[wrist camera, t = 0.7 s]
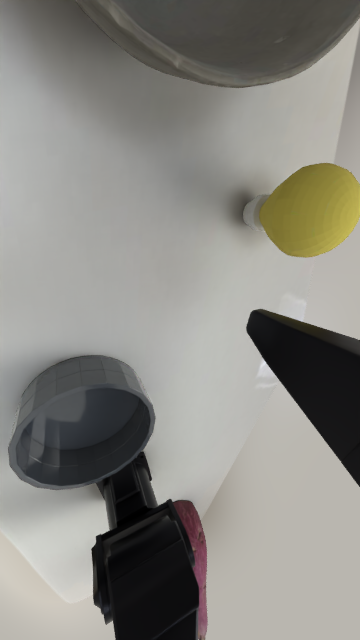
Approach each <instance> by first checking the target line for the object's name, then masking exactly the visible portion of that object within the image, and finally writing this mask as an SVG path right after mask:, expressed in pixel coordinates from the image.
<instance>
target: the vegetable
mask: <svg viewBox="0 0 360 640" xmlns="http://www.w3.org/2000/svg"><path fill="white" fill-rule="evenodd" d="M173 504H174V506H175V508H176V510H177V512H178V515H179V517H180V519H181V521H182V523H183V525H184V527H185V529H186V531H187V534H188V536H189V539H190V542H191V545H192V549H193V553H194V557H195V567H193V570H194V573H195V576H196V579H197V582H198V586H199V612H198V639H199V640H205V635H206V632H207V606H206V572H207V549H206V540H205V535H204V532H203V528H202V524H201V521H200V518H199V515H198V513H197V511H196V509H195V507H194V505H193V504H192V502H190V501H177V502H174V503H173Z"/></svg>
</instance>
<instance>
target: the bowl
mask: <svg viewBox="0 0 360 640" xmlns="http://www.w3.org/2000/svg"><path fill="white" fill-rule="evenodd" d="M75 1H76V2H77V4H78V5H79V6H80V7H81V9H82V10H83V11H84V12H85V13H86V14H87V15H88V16H89V17H90V18H91V20H92V21H93V22H94V23H95V24H96V25H97V26H98V27H99V28H101V29H102V30H103V31H104V32H105V33H106V34H107V35H108V36H109V37H110V38H111V39H112V40H113V41H114V42H115V43H116V44H118V45H119V46H120V47H121V48H122V49H124V50H125V51H126V52H127V53H129V54H130V55H132V56H133V57H134V58H136V59H137V60H139V61H141V62H142V63H144V64H146V65H148V66H150V67H152V68H154V69H156V70H159V71H161V72H164V73H166V74H170V75H173V76H177V77H180V78H184V79H188V80H192V81H195V82H199V83H202V84H208V85H214V86H220V87H231V88H243V87H251V86H258V85H264V84H269V83H273V82H276V81H280V80H283V79H286V78H290V77H292V76H294V75H296V74H298V73H300V72H302V71H304V70H306V69H308V68H309V67H311V66H312V65H313V64H315V63H316V62H317V61H318V60H320V59H321V58H322V57H323V56H324V55H326V54H327V53H328V52H329V51H330V50H331V49H333V48H334V47H335V46H336V45H337V44H338V43H339V42H340V40H341V39H342V38H343V37H344V36H345V35H346V34H347V33H348V31H349V30H350V29H351V28H352V27H353V25H354V24H355V23H356V22H357V20H358V19H359V17H360V0H75Z"/></svg>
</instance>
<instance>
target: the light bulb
mask: <svg viewBox="0 0 360 640" xmlns="http://www.w3.org/2000/svg"><path fill="white" fill-rule="evenodd" d="M359 217H360V184H359V183H358V181H357V180H356V178H355V177H354V176H353V174H352V173H351V172H349V171H348V170H347V169H344V168H342V167H340V166H337V165H334V164H330V163H320V164H314V165H309V166H305V167H302V168H301V169H299V170H298V171H296V172H295V173H294V174H292V175H291V176H290V177H289V178H287V179H286V180H285V181H284V182H283V183H282V184H280V185H279V186H278V187H277V188H276V189H275V190H274V191H273V193H272V194H271V195H270V194H267V195H259V196H257V197H256V198H254V199H253V201H250V202H249V203H247V205H246V206H245V208H244V212H243V219H244V221H245V223H246V224H247V225H250V227H251V228H252V229H253V230H257V231H265V232H266V234H267V235H268V237H269V238H270V239H271V241H272V242H273V243H274V244H275V245H276V246H277V247H278V248H279V249H280V250H281V251H282V252H284V253H285V254H287V255H290V256H296V257H313V256H317V255H320V254H323V253H325V252H328V251H330V250H332V249H333V248H335V247H336V246H338V245H339V244H340V243H342V242H343V241H344V240H345V239H346V238H347V237H348V236H349V234H350V233H351V232H352V231H353V229H354V227H355V226H356V224H357V222H358V220H359Z"/></svg>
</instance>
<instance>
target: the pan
mask: <svg viewBox="0 0 360 640" xmlns="http://www.w3.org/2000/svg"><path fill="white" fill-rule="evenodd" d="M154 423H155V414H154V409H153V405H152V403H151V401H150V399H149V397H148V394H147V392H146V390H145V388H144V386H143V384H142V382H141V380H140V378H139V377H138V375H137V374H136V372H135V371H134V370H133V369H132V368H131V367H130V366H128V365H127V364H125V363H124V362H122V361H119V360H117V359H114V358H111V357H105V356H83V357H77V358H73V359H69V360H66V361H64V362H61V363H58V364H56V365H54V366H52V367H50V368H49V369H47V370H46V371H44V372H43V373H41V374H40V375H39V376H38V377H37V378H35V379H34V380H33V381H32V383H31V384H30V385H29V386H28V387H27V389H26V390H25V391H24V393H23V395H22V397H21V399H20V402H19V405H18V408H17V411H16V415H15V420H14V424H13V429H12V433H11V438H10V442H9V447H8V453H9V462H10V467H11V468H12V469H13V471H14V472H15V473H16V475H17V476H18V477H19V478H20V479H21V480H22V481H24V482H27V483H29V484H31V485H33V486H35V487H37V488H44V489H52V490H63V489H73V488H79V487H83V486H86V485H89V484H92V483H96V482H98V481H101V480H103V479H105V478H107V477H109V476H111V475H113V474H115V473H117V472H118V471H119V470H121V469H122V468H123V467H125V466H126V465H128V464H129V463H130V462H132V461H133V460H134V459H135V458H136V457H137V455H138V454H139V453H140V452H141V451H142V450H143V449H144V448H145V446H146V444H147V442H148V441H149V439H150V437H151V435H152V433H153V429H154Z"/></svg>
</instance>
